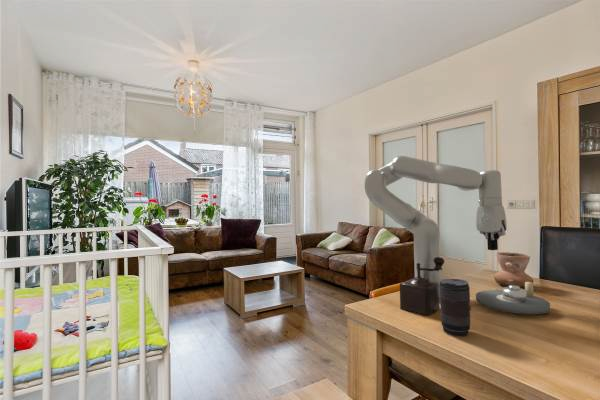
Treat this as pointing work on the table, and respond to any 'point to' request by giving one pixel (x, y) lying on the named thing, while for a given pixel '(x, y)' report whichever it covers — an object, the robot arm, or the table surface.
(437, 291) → the manual coffee grinder
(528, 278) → the ceramic jug
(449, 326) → the camera lens
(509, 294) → the cover
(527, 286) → the turntable
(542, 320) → the table surface
